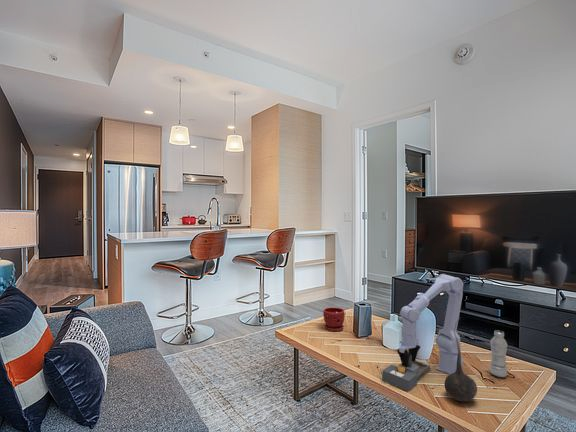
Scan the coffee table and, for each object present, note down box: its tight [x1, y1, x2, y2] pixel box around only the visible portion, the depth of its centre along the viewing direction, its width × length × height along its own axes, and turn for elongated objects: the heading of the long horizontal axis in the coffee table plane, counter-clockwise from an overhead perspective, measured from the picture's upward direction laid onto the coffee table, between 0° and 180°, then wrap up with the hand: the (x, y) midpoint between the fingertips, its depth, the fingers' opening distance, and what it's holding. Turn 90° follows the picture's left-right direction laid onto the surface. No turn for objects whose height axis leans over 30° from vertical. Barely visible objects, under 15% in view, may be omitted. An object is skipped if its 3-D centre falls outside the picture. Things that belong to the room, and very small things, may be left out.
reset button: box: [397, 364, 405, 374], centre depth 141 cm, size 3×3×4 cm
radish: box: [444, 320, 478, 403], centre depth 129 cm, size 11×14×30 cm
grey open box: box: [381, 364, 418, 392], centre depth 140 cm, size 12×8×5 cm, turn 44°
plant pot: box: [322, 307, 346, 332], centre depth 204 cm, size 13×13×12 cm
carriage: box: [397, 355, 419, 374], centre depth 146 cm, size 7×6×8 cm
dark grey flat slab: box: [411, 359, 431, 383], centre depth 149 cm, size 10×16×2 cm, turn 134°
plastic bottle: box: [489, 329, 508, 378], centre depth 147 cm, size 6×7×20 cm
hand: (408, 363), depth 146 cm, fingers open, 7 cm apart
